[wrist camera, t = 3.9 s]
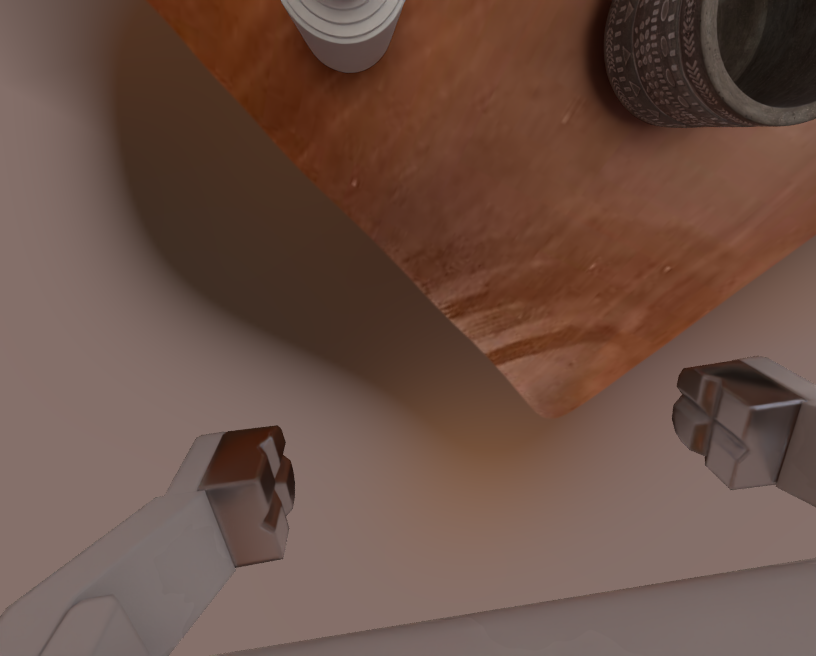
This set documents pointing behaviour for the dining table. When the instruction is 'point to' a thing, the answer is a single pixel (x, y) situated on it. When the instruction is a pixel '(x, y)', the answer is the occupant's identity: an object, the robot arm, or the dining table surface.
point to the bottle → (346, 30)
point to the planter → (713, 61)
